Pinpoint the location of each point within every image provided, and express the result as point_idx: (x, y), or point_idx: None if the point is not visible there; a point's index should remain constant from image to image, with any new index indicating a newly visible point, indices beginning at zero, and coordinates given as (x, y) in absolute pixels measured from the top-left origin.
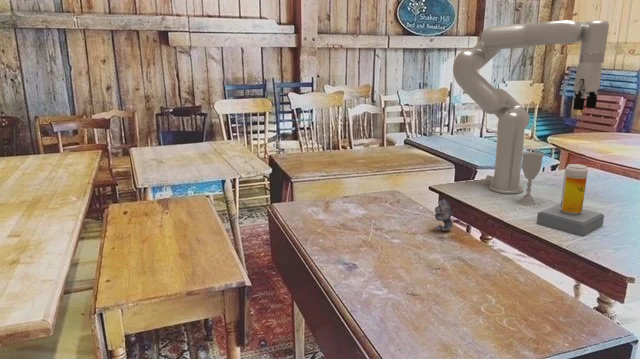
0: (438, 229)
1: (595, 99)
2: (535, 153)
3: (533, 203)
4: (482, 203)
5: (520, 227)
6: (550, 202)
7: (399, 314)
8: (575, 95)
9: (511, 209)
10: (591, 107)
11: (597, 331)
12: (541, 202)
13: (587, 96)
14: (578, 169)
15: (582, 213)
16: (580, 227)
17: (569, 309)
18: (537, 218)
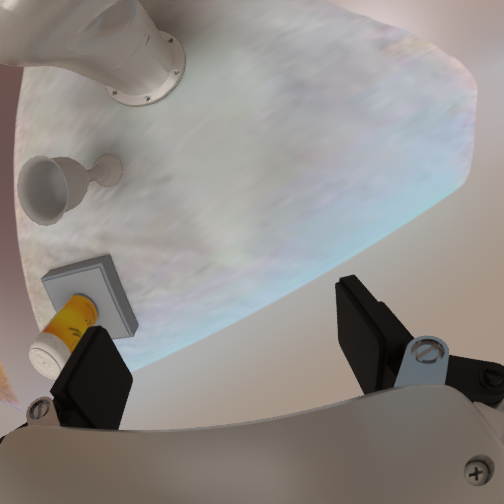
0: None
1: (363, 391)
2: (63, 174)
3: (110, 185)
4: (33, 143)
5: (24, 270)
6: (155, 190)
7: None
8: (25, 426)
9: None
10: (338, 322)
11: (12, 402)
12: (136, 182)
13: (387, 341)
14: (41, 371)
15: (98, 321)
16: None
17: (5, 386)
18: (46, 274)
